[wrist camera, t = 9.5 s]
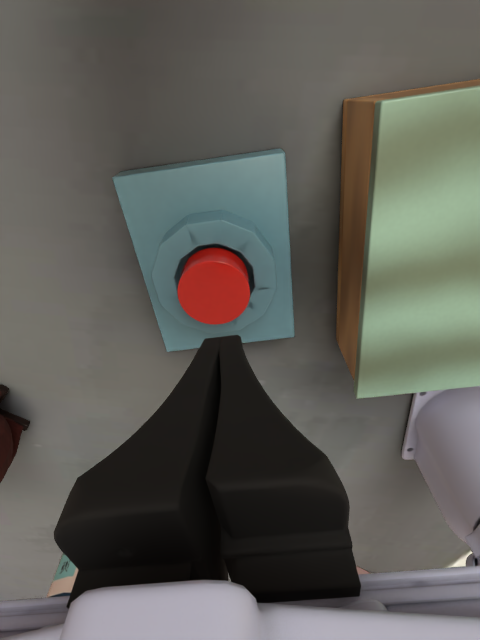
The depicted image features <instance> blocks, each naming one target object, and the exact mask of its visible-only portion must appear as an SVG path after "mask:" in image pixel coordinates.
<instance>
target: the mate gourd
mask: <svg viewBox="0 0 480 640" xmlns="http://www.w3.org/2000/svg"><path fill="white" fill-rule="evenodd" d="M8 390H9V388H8V387H6V386H3V385H0V403H1V402H2V400H3V398H4V397H5V395H6V394H7V392H8ZM29 424H30V421H28V420H26V419H23V418H21V417H19V416H16V415H14V414H12V413H9V412H7V411H5V410H3V409H0V483H1V481H2V480H3V478H4V476H5V474H6V472H7V470H8V468H9V466H10V465H11V463H12V461H13V459H14V457H15V455H16V452H17V449H18V445H19V441H20V436H21V433H22V430H23V431H25V430H27V428H28V426H29Z"/></svg>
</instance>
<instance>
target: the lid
mask: <svg viewBox="0 0 480 640" xmlns="http://www.w3.org/2000/svg"><path fill="white" fill-rule="evenodd" d="M475 386H480V85H478V86H472V87H465V88H458V89H452V90H445V91H439V92H432V93H425V94H419V95H412V96H405V97H399V98H392V99H385V100H379V101H376V103H375V111H374V125H373V138H372V151H371V165H370V178H369V191H368V205H367V218H366V232H365V245H364V258H363V272H362V285H361V298H360V312H359V325H358V338H357V352H356V365H355V379H354V393H355V396H356V398H357V399H361V398H370V397H380V396H389V395H399V394H408V393H418V392H427V391H437V390H447V389H456V388H466V387H475Z"/></svg>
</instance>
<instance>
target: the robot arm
mask: <svg viewBox="0 0 480 640" xmlns="http://www.w3.org/2000/svg"><path fill="white" fill-rule="evenodd" d="M401 455H402V457H403V459H406V460H409V459H415V461H416V463H417V465H418V467H419V469H420V471H421V473H422V475H423V477H424V479H425V481H426V483H427V485H428V487H429V489H430V491H431V493H432V495H433V497H434V499H435V501H436V503H437V505H438V507H439V509H440V511H441V513H442V515H443V517H444V519H445V521H446V522H447V524H448V526H449V527H450V528H451V529H452V531H453V532H454V533H455V534H456V535H457V536H458V537H459V538H460V539H462V540H463V541H464V542H465V543H466V544H468V545H469V547H470V549H471V551H472V552H473V553H472V554H470V555H469V556H468V557H467V560H466V566H465V567H451V568H438V569H424V570H411V571H398V572H384V573H371V574H358V572H357V568H356V564H355V560H354V556H353V552H352V541H351V537H350V534H349V530H348V520H349V508H350V506H349V500H348V496H347V494H346V491H345V489H344V486H343V484H342V482H341V480H340V478H339V476H338V474H337V473H336V471H335V469H334V467H333V466H332V464H331V462H330V461H329V459H328V457H327V456H326V455H325V454H324V453H323V452H322V451H321V450H319V449H318V448H317V447H316V446H315V445H313V444H312V443H311V442H310V441H309V440H308V439H307V438H306V437H304V436H303V435H302V434H301V433H300V432H299V431H298V430H297V429H296V428H295V427H294V426H293V425H292V424H291V422H290V421H289V420H288V419H287V418H286V417H285V416H284V415H283V414H282V413H281V412H280V410H279V409H278V408H277V407H276V405H275V404H274V403H273V402H272V400H271V399H270V398H269V396H268V395H267V393H266V392H265V391H264V389H263V387H262V386H261V384H260V383H259V381H258V379H257V378H256V376H255V374H254V372H253V371H252V369H251V367H250V365H249V363H248V360H247V358H246V356H245V353H244V350H243V347H242V340H241V337H240V336H239V335H231V336H222V337H214V338H205V339H204V341H203V342H202V344H201V346H200V348H199V350H198V352H197V354H196V355H195V357H194V359H193V361H192V362H191V364H190V366H189V367H188V369H187V370H186V372H185V374H184V375H183V377H182V378H181V380H180V381H179V383H178V384H177V385H176V387H175V388H174V390H173V391H172V392H171V394H170V395H169V396H168V398H167V399H166V400H165V401H164V403H163V404H162V405H161V406H160V407H159V409H158V410H157V411H156V412H155V413H154V414H153V415H152V416H151V417H150V419H149V420H148V421H147V422H146V423H145V424H144V425H143V426H142V427H141V428H140V429H139V430H138V431H137V432H136V433H135V434H133V435H132V436H131V437H130V438H129V439H128V440H127V441H126V442H124V443H123V444H122V445H121V446H120V447H119V448H117V449H116V450H115V451H114V452H112V453H111V454H110V455H109V456H107V457H106V458H105V459H103V460H102V461H101V462H99V463H98V464H97V465H95V466H94V467H92V468H91V469H90V470H88V471H87V472H86V473H84V474H83V475H81V476H80V477H78V478H77V480H76V482H75V484H74V486H73V488H72V490H71V492H70V494H69V497H68V499H67V501H66V504H65V506H64V508H63V511H62V513H61V516H60V518H59V521H58V523H57V526H56V528H55V531H54V539H55V541H56V543H57V545H58V546H59V548H60V549H61V551H62V552H63V553H64V554H65V555H66V556H67V557H68V558H69V560H70V561H71V562H72V563H73V564H74V565H75V566H76V567H77V569H78V573H77V576H76V579H75V582H74V585H73V588H72V591H71V594H70V596H61V597H48V598H34V599H21V600H8V601H0V640H480V386H475V387H466V388H456V389H447V390H437V391H427V392H418V393H414V395H413V400H412V405H411V410H410V414H409V419H408V424H407V429H406V434H405V438H404V443H403V448H402V453H401ZM228 573H229V576H230V579H231V582H229V581H228Z"/></svg>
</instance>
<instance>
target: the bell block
mask: <svg viewBox="0 0 480 640" xmlns="http://www.w3.org/2000/svg"><path fill="white" fill-rule="evenodd" d="M112 179H113V182H114V185H115V188H116V192H117V195H118V198H119V201H120V204H121V208H122V211H123V214H124V217H125V220H126V223H127V227H128V230H129V233H130V236H131V239H132V242H133V246H134V249H135V252H136V255H137V258H138V262H139V265H140V268H141V271H142V274H143V277H144V281H145V284H146V287H147V290H148V293H149V296H150V300H151V303H152V306H153V309H154V312H155V316H156V319H157V322H158V325H159V328H160V331H161V335H162V338H163V341H164V344H165V347H166V350H167V352H169V351H178V350H187V349H195V348H200V346H201V344H202V342H203V341H204V339H205V338H214V337H222V336H231V335H239V336H240V337H241V340H242V343H247V342H256V341H265V340H273V339H282V338H291V337H294V336H295V332H294V313H293V294H292V274H291V255H290V236H289V216H288V197H287V178H286V158H285V152H284V151H283V150H282V149H273V150H266V151H259V152H252V153H245V154H238V155H231V156H225V157H218V158H211V159H204V160H197V161H190V162H183V163H176V164H170V165H163V166H156V167H149V168H142V169H135V170H128V171H121V172H120V173H118V174H117V175H115V176H114V177H113V178H112ZM206 248H222V249H226V250H228V251H231V252H233V253H234V254H236V255H237V256H238V257H239V258H240V259H241V260H242V261H243V262H244V264H245V266H246V268H247V271H248V275H249V285H250V299H249V303H248V305H247V307H246V309H245V310H244V312H243V313H242V314H241V315H240V316H239V317H237V318H236V319H234V320H232V321H230V322H228V323H224V324H217V325H213V324H206V323H202V322H199V321H197V320H195V319H193V318H192V317H190V316H189V315H188V314H187V313H186V312H185V311H184V309H183V308H182V306H181V304H180V302H179V299H178V295H177V289H178V284H179V280H180V276H181V273H182V269H183V267H184V264H185V263H186V261H187V260H188V259H189V257H191V256H192V255H193V254H194V253H196V252H198V251H200V250H203V249H206Z"/></svg>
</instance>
